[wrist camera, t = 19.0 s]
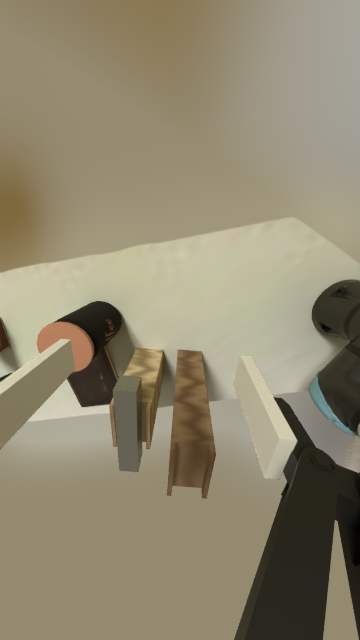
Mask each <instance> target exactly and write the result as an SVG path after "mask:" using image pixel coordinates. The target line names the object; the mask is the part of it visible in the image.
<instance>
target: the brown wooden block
mask: <svg viewBox="0 0 360 640" xmlns="http://www.w3.org/2000/svg"><path fill="white" fill-rule="evenodd" d="M215 456H216V452H215V445H214V439H213V431H212V424H211V417H210V410H209V402H208V395H207V388H206V381H205V374H204V367H203V360H202V353H201V351H188V350H178V357H177V370H176V383H175V396H174V410H173V422H172V435H171V449H170V463H169V476H168V489H167V495H168V496H171V492H172V486H184V487H197V488H202V498H207V493H208V488H209V484H210V479H211V475H212V470H213V465H214V461H215Z"/></svg>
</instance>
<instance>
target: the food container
mask: <svg viewBox="0 0 360 640" xmlns="http://www.w3.org/2000/svg"><path fill="white" fill-rule="evenodd" d="M10 346H11V345H10V342H9V339H8V336H7V333H6V330H5V327H4V324H3V322H2V319H1V318H0V353H2V352H3V351H5V350H6V349H7V348H9V347H10Z"/></svg>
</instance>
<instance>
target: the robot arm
mask: <svg viewBox="0 0 360 640" xmlns="http://www.w3.org/2000/svg"><path fill="white" fill-rule="evenodd" d="M312 320H313V323H314V325H315V326H316V327H317V328H318V329H319V330H320V331H322V332H324V333H325V334H327V335H329V336H333V337H337V338H342V339H347V340H351V341H350V343H349V344H348V345H347V346H346V347H345V348H344V349H343V350H342V351H341V352H340V353H339V354H338V355H337V356H336V357H335V358H334V359H333V360H332V361H331V362H330V363H329V364H328V365H327V366H326V367H325V368H324V369H323V370H322V371H319V372H318V373H317V375H316V377H315V378H314V379H313V380H312V381H311V383H310V385H309V393H310V396H311V398H312V400H313V401H314V403H315V404H316V406H317V407H318V408H319V410H320V411H321V412H322V413H323V414H324V415H325V416H326V417H327V418H328V419H330V420H331V421H332V423H333V424H334V425H335V426H336V427H338V428H339V429H340V430H342V431H344V432H345V433H347V434H350V435H353V436H356V435H358V436H359V437H360V281H359V280H344V281H340V282H338V283H335V284H333V285H332V286H330V287H329V288H327V289H326V290H325V291H324V292H323V293H322V294H321V295H320V296H319V297H318V299H317V300H316V302H315V304H314V306H313V310H312ZM74 370H75V363H74V357H73V351H72V344H71V340H70V339H60V340H58V341H57V342H56V343H54V344H53V345H51V346H50V347H49V348H47V349H46V350H44V351H43V352H42V353H40V354H39V355H38V356H36V357H35V358H33V359H32V360H31V361H29V362H28V363H26V364H25V365H24V366H22V367H21V368H19V369H18V370H17V371H15V372H14V373H10V374H8V375H5V376H3V377H1V378H0V449H1V448H2V447H3V446H4V445H5V444H6V443H7V442H8V441H9V440H10V439H11V437H12V436H13V435H14V434H15V433H16V432H17V431H18V430H19V429H20V428H21V427H22V426H23V424H25V423H26V422H27V420H28V419H29V418H30V417H31V416H32V415H33V414H34V413H35V412H36V411H37V410H38V409H39V408H40V406H41V405H42V404H43V403H44V402H45V401H46V400H47V399H48V398H49V397H50V396H51V395H52V394H53V393H54V391H55V390H56V389H57V388H58V387H59V386H60V385H61V384H62V383H63V382H64V381H65V380H66V379H67V378H68V376H69V375H70V374H71V373H72V372H73V371H74ZM234 387H235V390H236V393H237V396H238V399H239V402H240V405H241V408H242V411H243V414H244V418H245V421H246V424H247V427H248V430H249V433H250V436H251V439H252V443H253V445H254V449H255V452H256V455H257V458H258V461H259V464H260V467H261V471H262V474H263V477H264V478H268V479H278V480H280V478H281V476H282V474H283V472H284V475H285V477H286V479H287V484H286V486H285V488H284V490H283V492H282V494H281V495H282V498H281V501H280V504H279V507H278V510H277V513H276V516H275V519H274V522H273V525H272V528H271V531H270V534H269V537H268V540H267V543H266V546H265V549H264V552H263V555H262V558H261V561H260V564H259V567H258V570H257V572H256V575H255V578H254V581H253V585H252V587H251V590H250V593H249V596H248V599H247V602H246V606H245V608H244V612H243V614H242V618H241V620H240V623H239V626H238V630H237V633H236V635H235V639H234V640H323V632H324V622H325V612H326V602H327V592H328V582H329V572H330V562H331V552H332V542H333V531H334V522H335V520H337V521H338V526H339V531H340V537H341V542H342V548H343V553H344V559H345V565H346V570H347V575H348V581H349V587H350V592H351V597H352V603H353V609H354V614H355V620H356V625H357V631H358V637H359V640H360V472H359V473H357V472H354V471H351V470H349V469H346V468H344V467H341V466H339V465H337V464H336V463H335V462H334V461H333V460H332V458H331V457H330V456H329V455H327V454H326V453H325V452H323V451H322V450H320V449H318V448H316V447H315V445H314V443H313V442H312V440H311V439H310V437H309V435H308V434H307V432H306V431H305V429H304V428H303V426H302V424H301V423H300V421H298V418H297V417H296V415H295V414H294V412H293V410H292V409H291V407H290V405H289V404H288V403H286V402H285V401H284V400H283V399H282V398H275V397H273V396H272V394H271V392H270V391H269V389H268V387H267V385H266V383H265V382H264V380H263V378H262V376H261V374H260V373H259V371H258V369H257V367H256V365H255V364H254V362H253V360H252V358H251V356H243V355H240V359H239V363H238V368H237V372H236V376H235V381H234Z"/></svg>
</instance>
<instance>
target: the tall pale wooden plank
mask: <svg viewBox="0 0 360 640" xmlns="http://www.w3.org/2000/svg"><path fill="white" fill-rule="evenodd" d="M162 364H163V350H156V349H142V348H136V350H135V352H134V355H133V357H132V359H131V361H130V363H129V365H128V367H127V369H126V371H125V373H124V375H126V376H139V377H142V442H146V447H147V448H146V449H150V446H151V440H152V435H153V429H154V423H155V418H156V412H157V406H158V401H159V395H160V389H161V384H162ZM109 408H110V418H111V427H112V437H113V446H114V447H117V435H116V423H115V412H114V400H113V399H112V401H111V403H110V405H109Z"/></svg>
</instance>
